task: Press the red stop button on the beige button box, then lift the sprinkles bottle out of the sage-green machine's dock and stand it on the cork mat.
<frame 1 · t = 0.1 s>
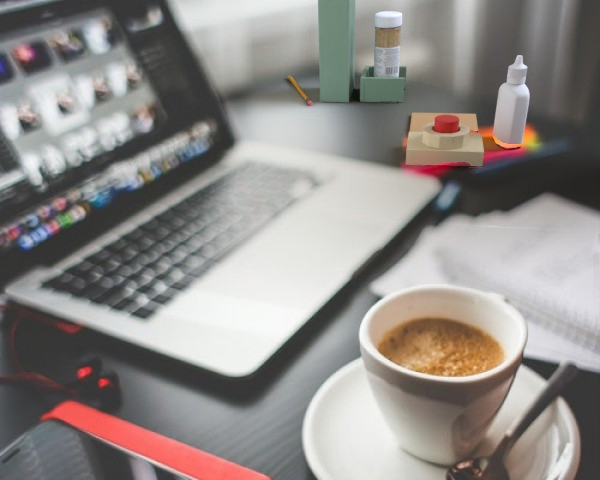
pencil: (298, 91, 115), on the table
eye dropper bottle: (506, 144, 90), on the table
button: (446, 124, 84), point 4 cm above the table, slide at 0.1 cm
button box: (443, 156, 86), on the table
sprinkles bottle: (385, 96, 111), resting in dock machine
dock machine: (385, 95, 111), on the table
cork mat: (443, 127, 96), on the table
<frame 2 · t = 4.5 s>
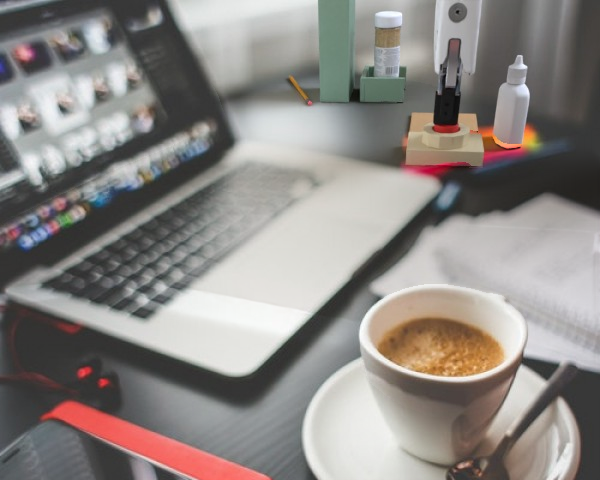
hand: (445, 122, 84), 5 cm above the table, tool pointing down, fingers closed
button: (446, 129, 84), point 4 cm above the table, slide at -0.5 cm, touching gripper
everything else where it was.
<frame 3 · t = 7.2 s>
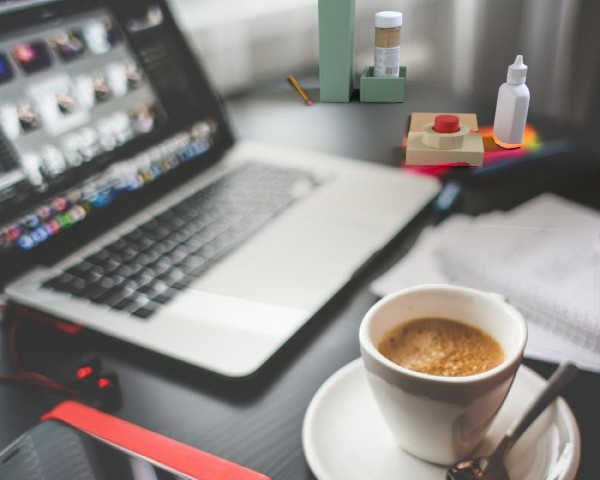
button: (446, 124, 84), point 5 cm above the table, slide at 0.1 cm
everything else where it was.
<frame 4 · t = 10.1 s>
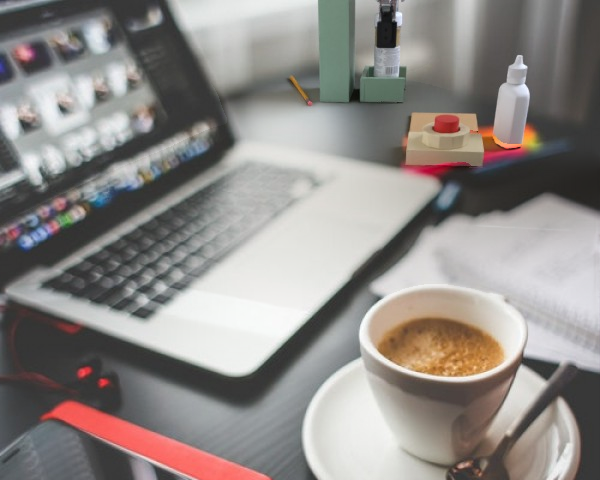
hand: (387, 42, 106), 9 cm above the table, tool pointing down, fingers closed on sprinkles bottle, 4 cm apart
sprinkles bottle: (385, 96, 111), resting in dock machine, touching gripper
everything else where it was.
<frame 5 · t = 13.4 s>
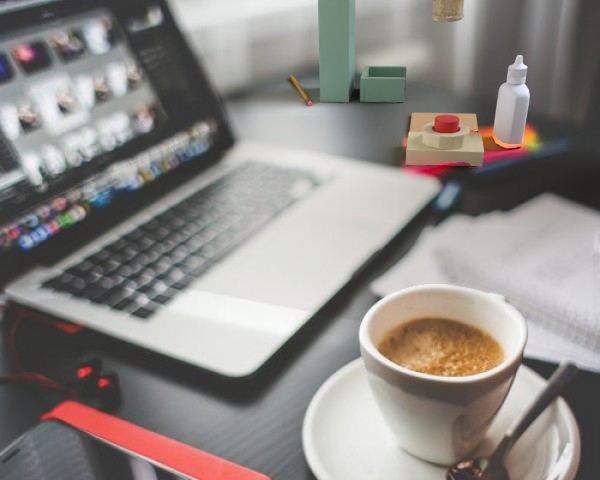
sprinkles bottle: (446, 21, 89), point 15 cm above the table, touching gripper
everything else where it was.
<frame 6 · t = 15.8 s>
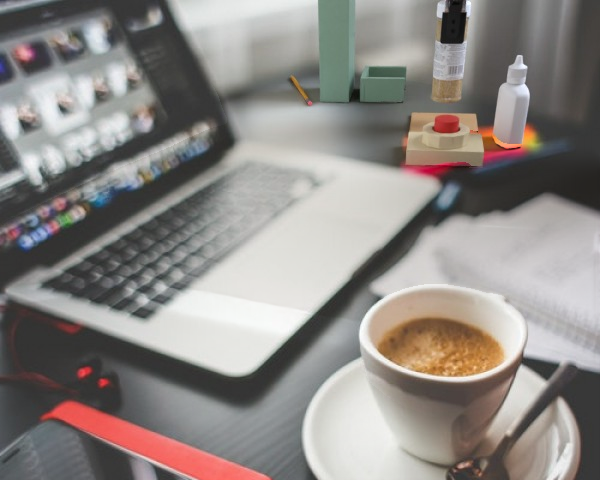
hand: (451, 37, 89), 13 cm above the table, tool pointing down, fingers closed on sprinkles bottle, 4 cm apart
sprinkles bottle: (445, 100, 94), point 4 cm above the table, touching gripper
everything else where it was.
when the fingers open (9 cm above the table, at t = 17.1 s): sprinkles bottle stays where it is, resting on cork mat.
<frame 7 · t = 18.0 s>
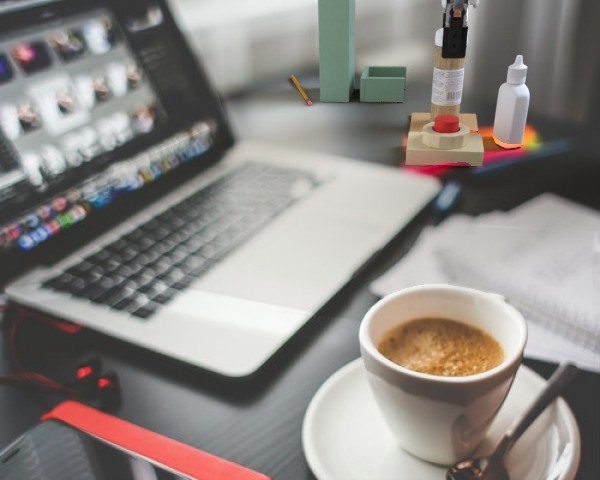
hand: (452, 49, 90), 11 cm above the table, tool pointing down, fingers open, 9 cm apart
sprinkles bottle: (443, 124, 96), resting on cork mat
everything else where it was.
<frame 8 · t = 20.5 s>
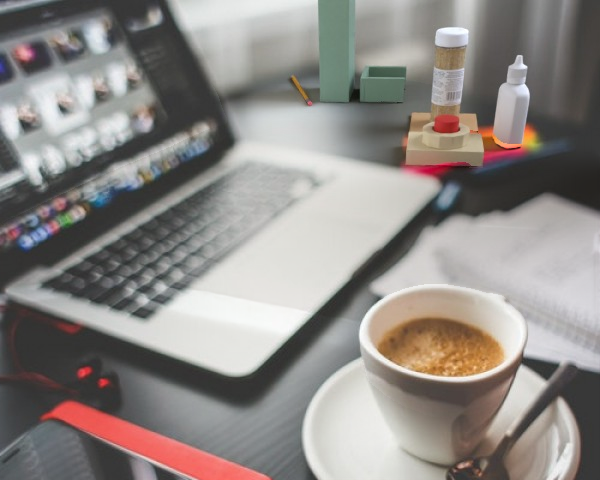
nothing on the table moved.
at the end: button pushed in 1.1 cm at the most during the clip, back to where it started at the end; sprinkles bottle inside the target area on the cork mat (0.0 cm from its centre), point 0.4 cm above the cork mat's base; sprinkles bottle tilted 0° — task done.
